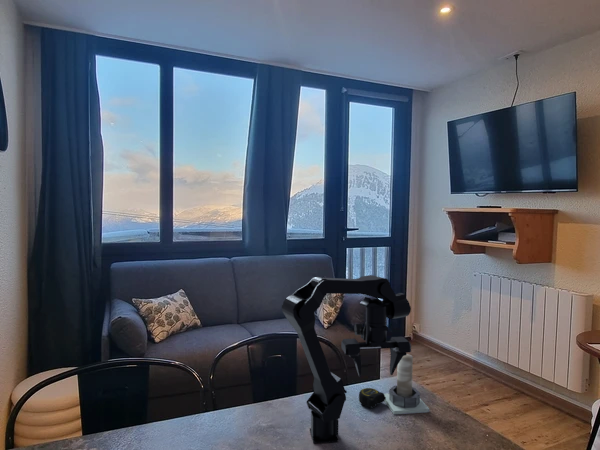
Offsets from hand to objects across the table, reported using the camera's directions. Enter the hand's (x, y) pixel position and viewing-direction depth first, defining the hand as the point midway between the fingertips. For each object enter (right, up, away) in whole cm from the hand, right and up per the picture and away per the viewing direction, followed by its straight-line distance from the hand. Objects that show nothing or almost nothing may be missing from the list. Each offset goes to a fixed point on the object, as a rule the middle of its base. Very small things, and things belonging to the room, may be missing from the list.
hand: (375, 375), depth 115 cm
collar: (+11, -13, +10) cm, 19 cm away
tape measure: (+1, -13, +10) cm, 16 cm away
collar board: (+11, -13, +10) cm, 19 cm away
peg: (+11, -12, +10) cm, 19 cm away
